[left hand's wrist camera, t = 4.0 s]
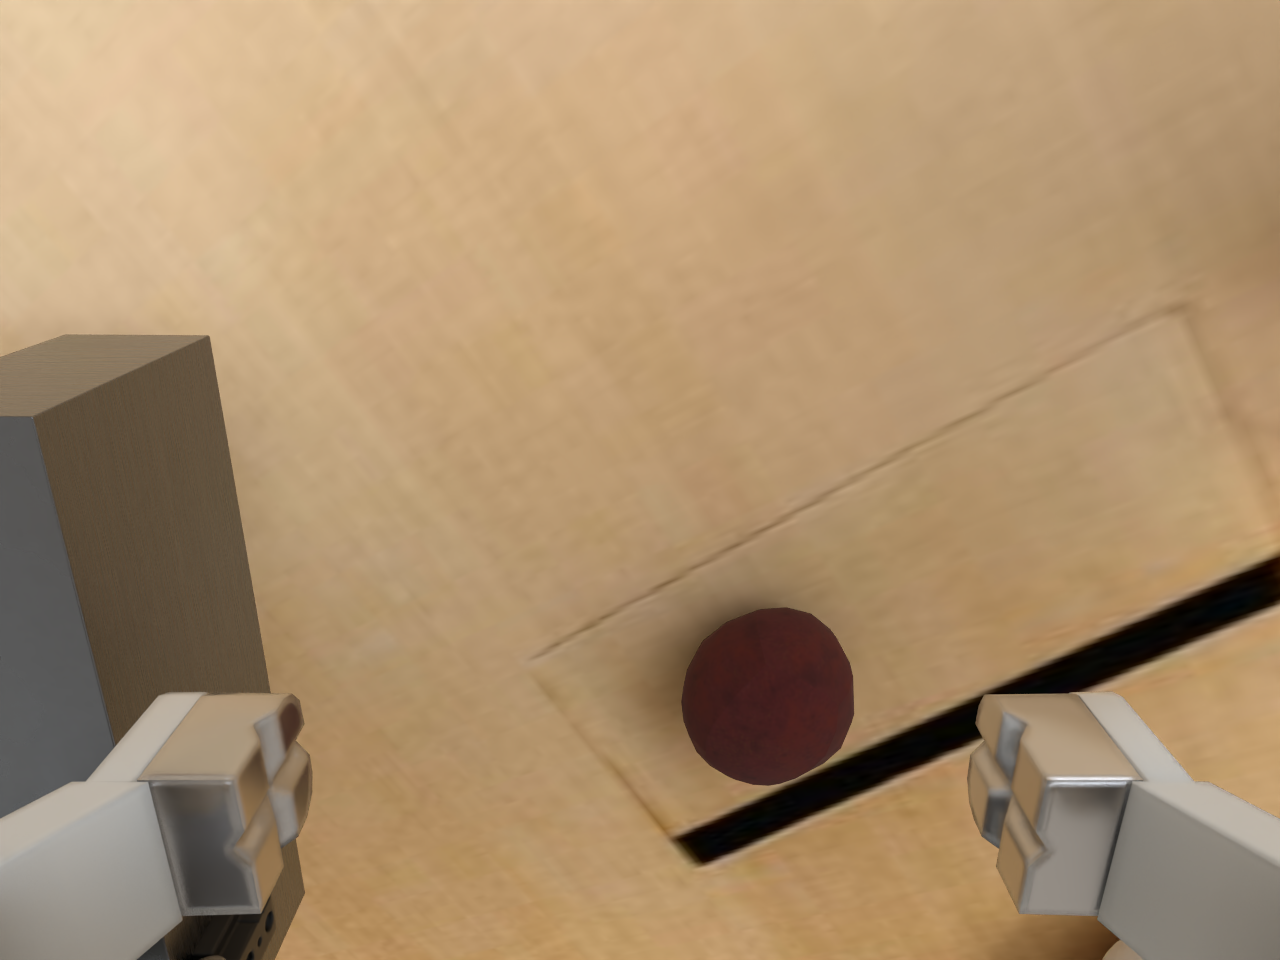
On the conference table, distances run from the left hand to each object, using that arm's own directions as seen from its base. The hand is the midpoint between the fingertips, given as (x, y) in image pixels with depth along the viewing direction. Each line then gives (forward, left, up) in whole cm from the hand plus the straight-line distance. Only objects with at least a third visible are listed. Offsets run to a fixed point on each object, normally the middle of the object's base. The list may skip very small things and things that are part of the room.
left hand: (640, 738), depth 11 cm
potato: (-13, +11, -28) cm, 32 cm away
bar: (+8, +18, -19) cm, 27 cm away
